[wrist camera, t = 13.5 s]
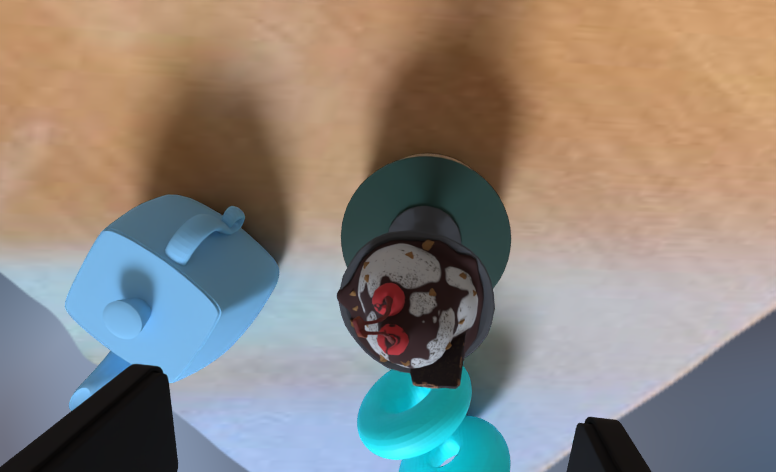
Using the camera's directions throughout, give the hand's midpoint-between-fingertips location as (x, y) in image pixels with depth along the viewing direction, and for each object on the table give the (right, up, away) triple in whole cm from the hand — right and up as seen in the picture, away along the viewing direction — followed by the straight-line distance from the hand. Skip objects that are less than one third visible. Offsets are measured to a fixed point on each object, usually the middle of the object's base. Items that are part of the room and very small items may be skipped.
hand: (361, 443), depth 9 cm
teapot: (-16, +1, +29) cm, 33 cm away
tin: (+4, +6, +24) cm, 25 cm away
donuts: (+5, -10, +29) cm, 31 cm away
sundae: (+3, +4, +18) cm, 19 cm away
